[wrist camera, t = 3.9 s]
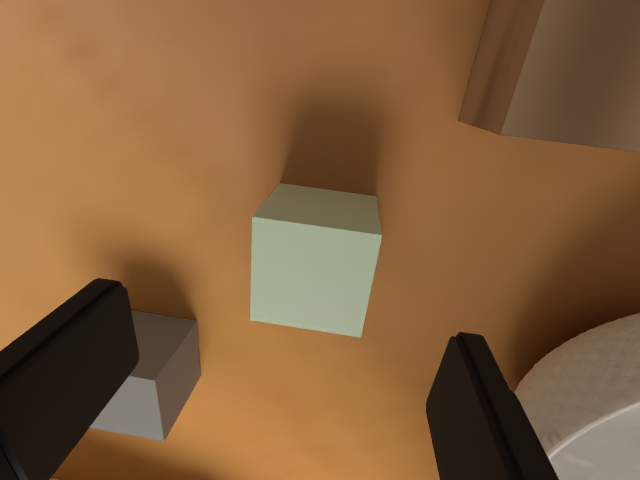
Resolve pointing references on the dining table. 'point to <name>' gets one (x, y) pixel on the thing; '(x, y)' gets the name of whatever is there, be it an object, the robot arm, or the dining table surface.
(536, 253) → the dining table surface
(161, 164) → the dining table surface
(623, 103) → the walnut cube
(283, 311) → the sage green cube
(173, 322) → the gray cube
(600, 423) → the cereal bowl
